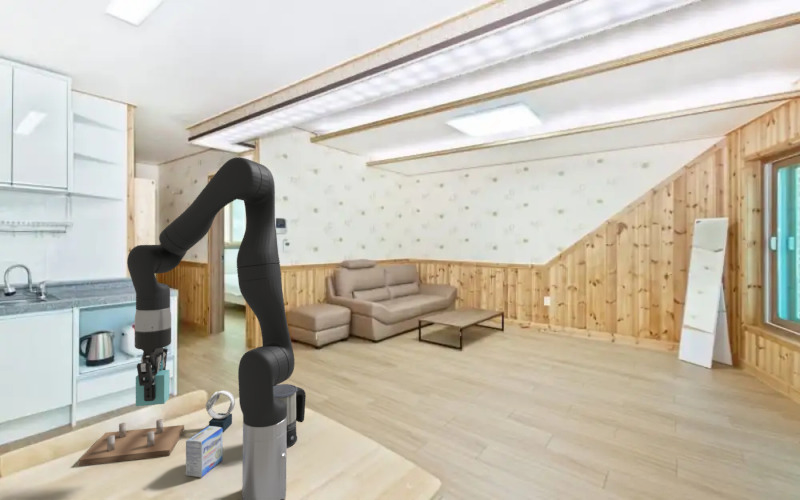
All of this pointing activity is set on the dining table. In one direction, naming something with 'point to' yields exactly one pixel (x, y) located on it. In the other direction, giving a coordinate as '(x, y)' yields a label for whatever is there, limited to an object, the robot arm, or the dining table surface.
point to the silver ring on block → (221, 418)
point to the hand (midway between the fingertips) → (153, 396)
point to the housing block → (160, 390)
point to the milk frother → (291, 408)
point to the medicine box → (204, 451)
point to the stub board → (133, 444)
